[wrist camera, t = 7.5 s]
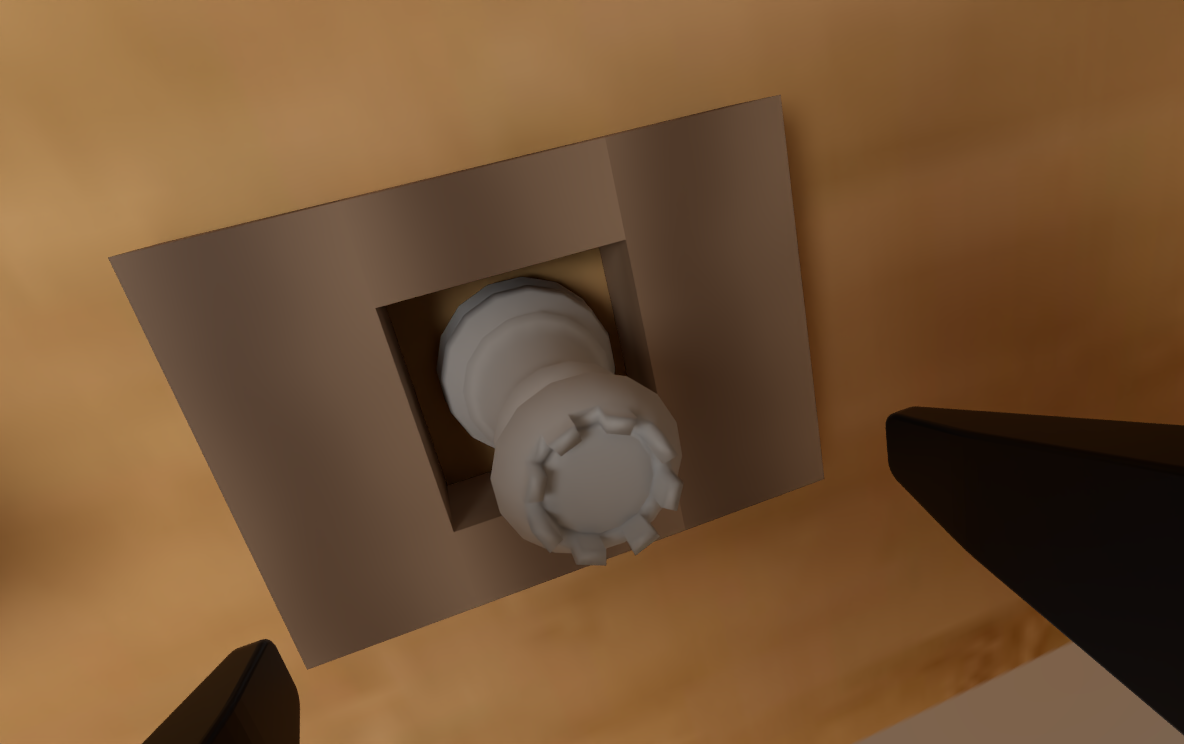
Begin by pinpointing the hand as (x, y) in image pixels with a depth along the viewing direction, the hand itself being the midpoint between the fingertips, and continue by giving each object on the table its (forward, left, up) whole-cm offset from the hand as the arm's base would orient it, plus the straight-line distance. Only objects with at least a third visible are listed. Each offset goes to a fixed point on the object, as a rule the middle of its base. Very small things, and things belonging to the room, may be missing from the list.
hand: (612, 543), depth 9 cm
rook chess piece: (0, 0, -9) cm, 9 cm away
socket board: (0, 0, -9) cm, 9 cm away
